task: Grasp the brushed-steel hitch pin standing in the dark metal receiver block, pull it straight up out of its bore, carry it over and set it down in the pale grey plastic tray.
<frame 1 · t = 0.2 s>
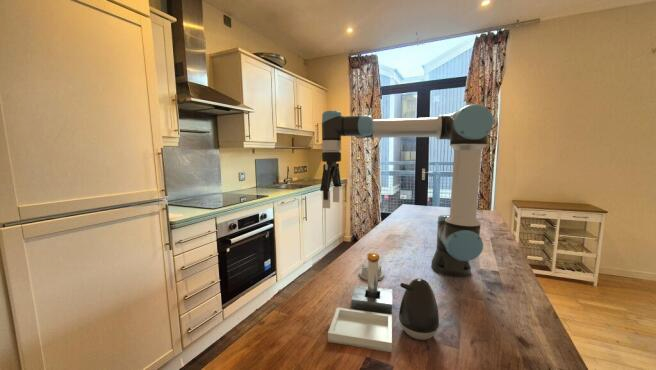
hand: (331, 205, 109), 28 cm above the counter, fingers open, 13 cm apart
tray: (361, 331, 74), on the counter
mechanical component: (371, 276, 109), on the counter
pin: (372, 281, 85), in the receiver block
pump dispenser: (417, 333, 74), on the counter
receiver block: (372, 307, 86), on the counter
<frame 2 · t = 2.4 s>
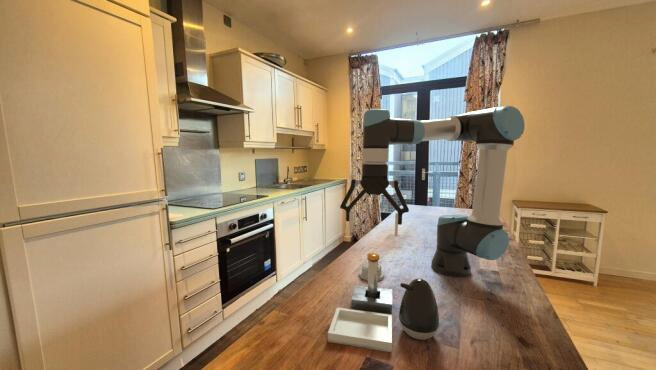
hand: (373, 233, 83), 24 cm above the counter, fingers open, 13 cm apart
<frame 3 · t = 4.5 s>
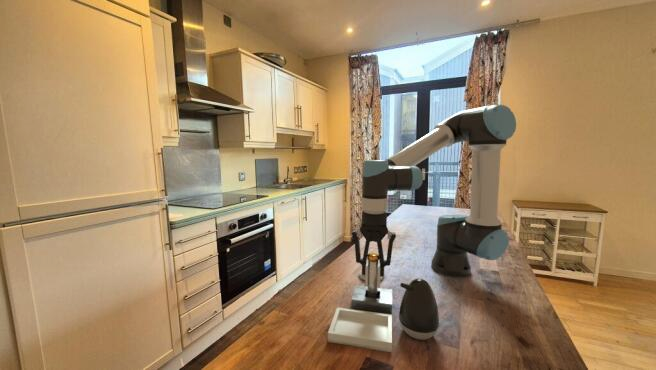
hand: (372, 284, 85), 8 cm above the counter, fingers closed on pin, 3 cm apart
pin: (372, 281, 85), in the receiver block, touching gripper
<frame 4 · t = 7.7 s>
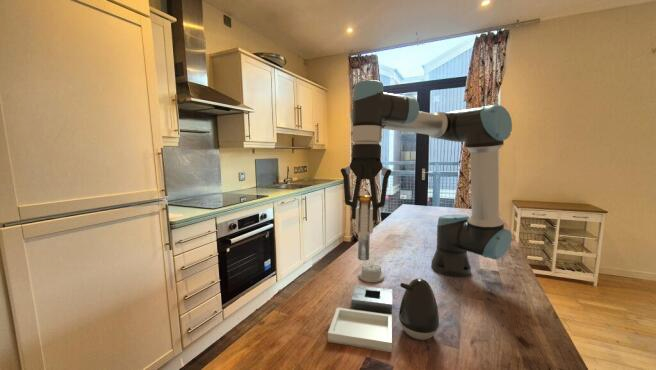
hand: (364, 231, 73), 27 cm above the counter, fingers closed on pin, 3 cm apart
pin: (364, 227, 73), point 28 cm above the counter, touching gripper
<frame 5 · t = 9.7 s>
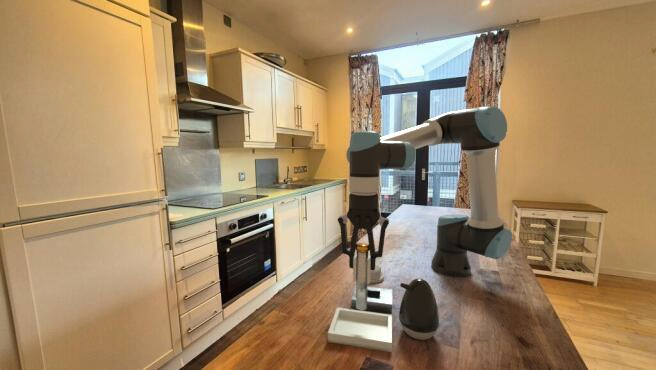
hand: (361, 280, 72), 15 cm above the counter, fingers closed on pin, 3 cm apart
pin: (362, 276, 72), point 16 cm above the counter, touching gripper
when the fingers open (10 cm above the counter, at t = 11.1 s): pin drops 2 cm, resting on tray.
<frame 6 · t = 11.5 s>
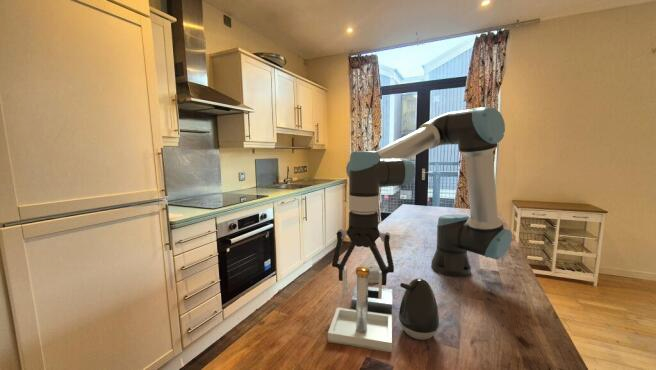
hand: (362, 293, 73), 11 cm above the counter, fingers open, 9 cm apart
pin: (362, 299, 73), in the tray, point 9 cm above the counter
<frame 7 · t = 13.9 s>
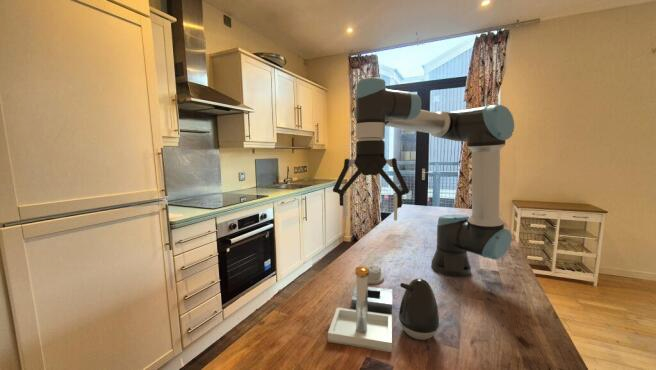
hand: (369, 218, 75), 31 cm above the counter, fingers open, 13 cm apart
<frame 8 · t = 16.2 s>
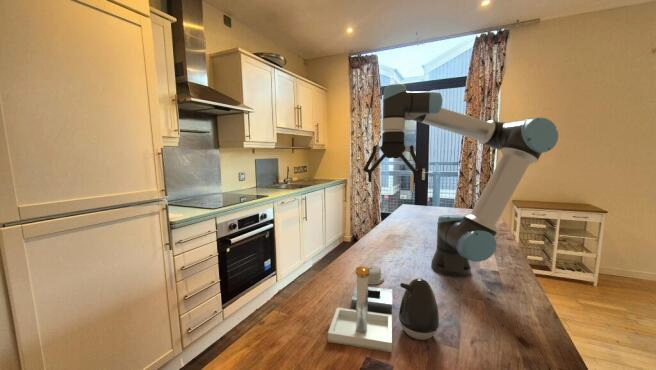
hand: (391, 192, 97), 35 cm above the counter, fingers open, 13 cm apart
at the end: pin inside the target area on the tray (0.0 cm from its centre), point 9.2 cm above the tray's base; the gripper is holding nothing; pin inside the target area (18.0 cm from its centre), point 9.2 cm above the counter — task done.
